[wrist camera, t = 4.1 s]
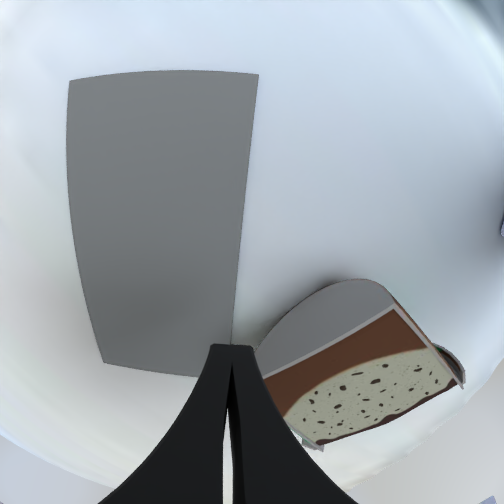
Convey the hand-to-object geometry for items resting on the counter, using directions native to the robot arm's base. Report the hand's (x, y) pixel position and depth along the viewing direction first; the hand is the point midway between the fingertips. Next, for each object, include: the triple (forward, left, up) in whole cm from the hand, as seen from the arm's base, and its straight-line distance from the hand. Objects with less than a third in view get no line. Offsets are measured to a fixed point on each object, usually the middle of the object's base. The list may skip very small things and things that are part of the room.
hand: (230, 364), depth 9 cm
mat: (+5, 0, -7) cm, 9 cm away
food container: (-4, +2, -6) cm, 7 cm away
